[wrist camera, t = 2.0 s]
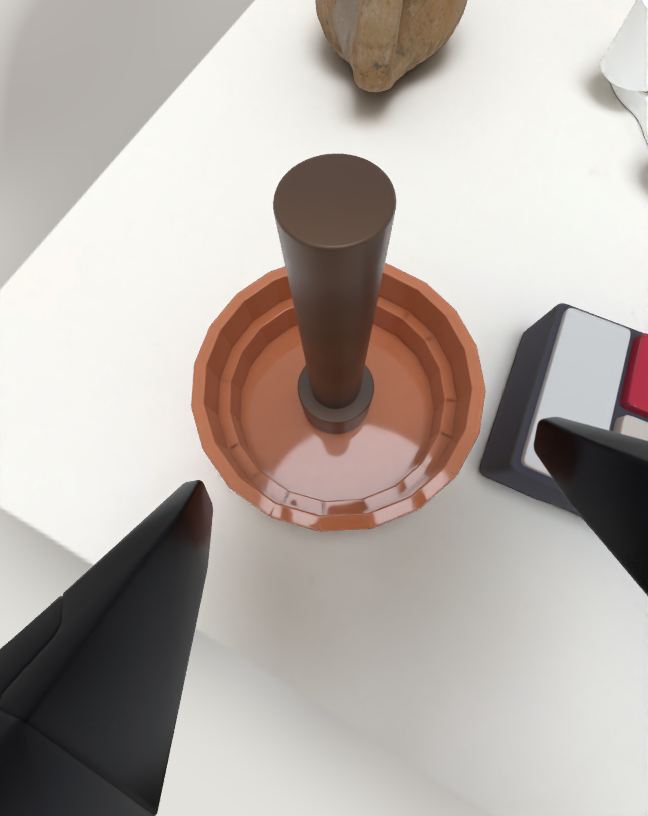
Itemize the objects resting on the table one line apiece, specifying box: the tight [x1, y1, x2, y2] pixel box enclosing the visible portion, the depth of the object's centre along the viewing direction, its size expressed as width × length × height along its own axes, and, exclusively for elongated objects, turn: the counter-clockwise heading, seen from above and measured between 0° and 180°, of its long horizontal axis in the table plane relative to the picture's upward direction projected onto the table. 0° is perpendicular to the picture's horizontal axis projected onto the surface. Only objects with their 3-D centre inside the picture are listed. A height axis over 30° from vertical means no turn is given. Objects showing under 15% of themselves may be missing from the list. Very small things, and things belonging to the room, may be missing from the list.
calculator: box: [480, 303, 648, 515], centre depth 19 cm, size 11×4×15 cm
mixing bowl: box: [191, 263, 485, 531], centre depth 20 cm, size 15×15×5 cm
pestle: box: [273, 154, 396, 434], centre depth 15 cm, size 4×4×15 cm
